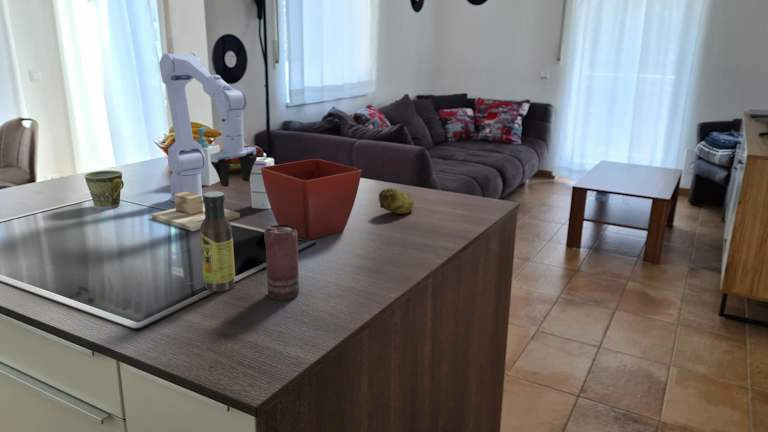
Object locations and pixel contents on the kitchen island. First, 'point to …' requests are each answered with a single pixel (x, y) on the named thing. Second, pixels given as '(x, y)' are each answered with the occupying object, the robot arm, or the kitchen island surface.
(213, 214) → the sauce bottle
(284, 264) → the can
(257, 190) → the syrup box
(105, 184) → the ceramic cup
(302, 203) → the plant pot
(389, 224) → the kitchen island surface
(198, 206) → the block
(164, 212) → the board
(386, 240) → the kitchen island surface
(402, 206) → the yellow-green lumpy oblong piece
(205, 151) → the soap bottle
